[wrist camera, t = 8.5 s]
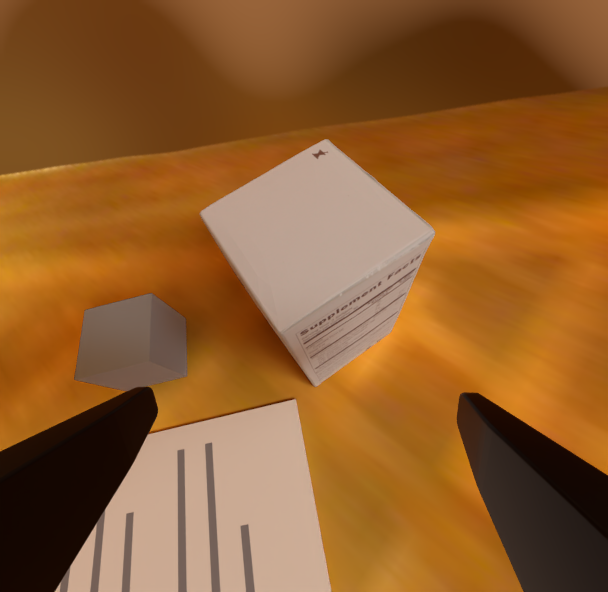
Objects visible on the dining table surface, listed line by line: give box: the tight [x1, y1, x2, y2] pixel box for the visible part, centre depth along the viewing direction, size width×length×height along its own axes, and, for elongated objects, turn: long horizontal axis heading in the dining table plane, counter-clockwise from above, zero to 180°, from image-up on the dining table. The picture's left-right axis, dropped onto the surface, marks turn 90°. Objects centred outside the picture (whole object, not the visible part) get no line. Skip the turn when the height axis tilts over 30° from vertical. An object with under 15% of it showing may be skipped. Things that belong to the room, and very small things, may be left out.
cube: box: [74, 293, 187, 391], centre depth 22 cm, size 5×5×5 cm
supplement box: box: [200, 139, 435, 387], centre depth 18 cm, size 7×7×13 cm
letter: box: [55, 399, 332, 592], centre depth 18 cm, size 14×21×1 cm, turn 102°
